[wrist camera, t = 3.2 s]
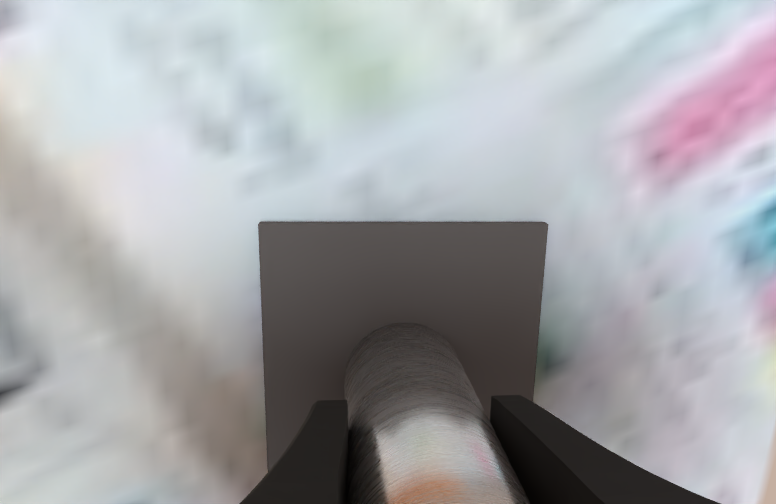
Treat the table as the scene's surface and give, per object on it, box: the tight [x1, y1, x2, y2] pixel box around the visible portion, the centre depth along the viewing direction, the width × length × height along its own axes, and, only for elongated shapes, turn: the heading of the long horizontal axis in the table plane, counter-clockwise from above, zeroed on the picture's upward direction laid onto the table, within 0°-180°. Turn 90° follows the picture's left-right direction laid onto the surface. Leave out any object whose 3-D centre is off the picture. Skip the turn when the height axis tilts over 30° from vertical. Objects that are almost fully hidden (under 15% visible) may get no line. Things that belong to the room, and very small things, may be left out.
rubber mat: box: [258, 222, 548, 472], centre depth 14 cm, size 8×7×1 cm
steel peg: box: [344, 322, 530, 504], centre depth 10 cm, size 3×3×9 cm
